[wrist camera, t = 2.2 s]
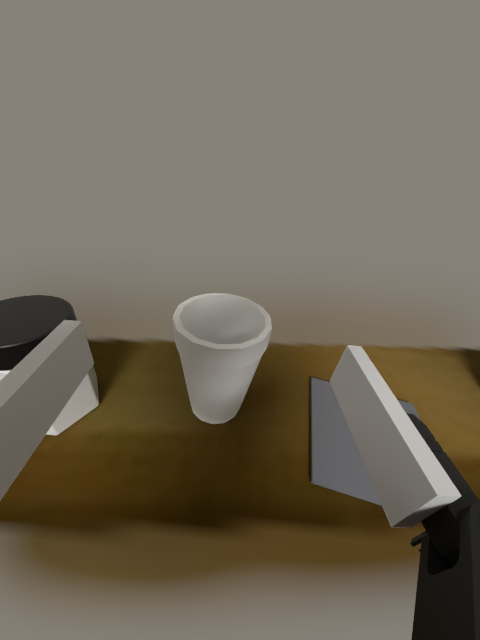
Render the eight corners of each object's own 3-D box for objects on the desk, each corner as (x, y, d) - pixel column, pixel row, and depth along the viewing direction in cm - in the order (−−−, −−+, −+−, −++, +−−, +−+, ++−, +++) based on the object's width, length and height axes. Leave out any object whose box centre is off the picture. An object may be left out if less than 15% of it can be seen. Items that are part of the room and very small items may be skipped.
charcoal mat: (410, 406, 33) (413, 403, 33) (463, 532, 22) (468, 530, 21) (310, 380, 35) (311, 377, 35) (310, 482, 24) (312, 480, 23)
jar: (20, 384, 29) (-31, 299, 22) (97, 366, 32) (73, 288, 26) (4, 453, 23) (-74, 363, 16) (102, 421, 26) (71, 337, 20)
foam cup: (188, 369, 34) (187, 288, 27) (252, 377, 34) (268, 298, 27) (168, 432, 26) (159, 342, 19) (251, 442, 26) (274, 356, 19)
